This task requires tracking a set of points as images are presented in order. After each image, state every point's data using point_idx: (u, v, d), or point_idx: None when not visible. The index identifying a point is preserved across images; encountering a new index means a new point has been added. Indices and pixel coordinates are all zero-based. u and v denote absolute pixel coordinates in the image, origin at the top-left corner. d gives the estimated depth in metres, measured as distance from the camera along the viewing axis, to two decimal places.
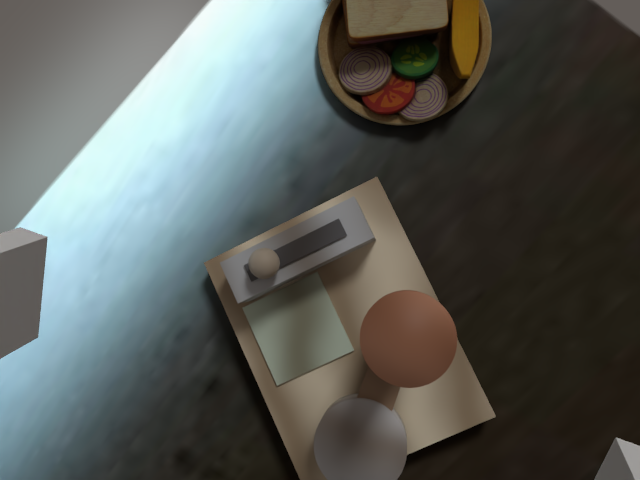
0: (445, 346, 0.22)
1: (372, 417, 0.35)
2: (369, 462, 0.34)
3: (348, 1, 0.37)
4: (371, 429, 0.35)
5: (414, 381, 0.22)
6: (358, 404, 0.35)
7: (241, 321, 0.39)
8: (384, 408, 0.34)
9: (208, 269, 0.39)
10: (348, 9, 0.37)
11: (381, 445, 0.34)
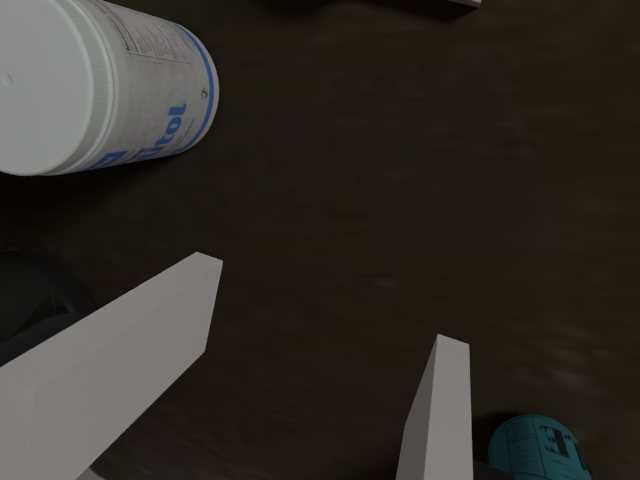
0: None
1: None
2: None
3: None
4: None
5: None
6: None
7: None
8: None
9: None
10: None
11: None
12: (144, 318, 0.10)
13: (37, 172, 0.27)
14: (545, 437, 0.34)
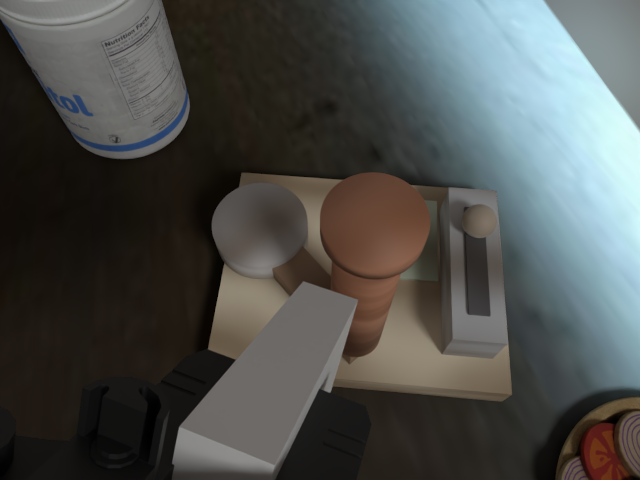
0: (347, 246, 0.19)
1: (278, 246, 0.33)
2: (242, 222, 0.34)
3: None
4: (268, 240, 0.33)
5: (330, 203, 0.20)
6: (297, 241, 0.33)
7: (424, 195, 0.38)
8: (280, 260, 0.32)
9: None
10: None
11: (249, 240, 0.33)
12: (286, 358, 0.10)
13: None
14: None
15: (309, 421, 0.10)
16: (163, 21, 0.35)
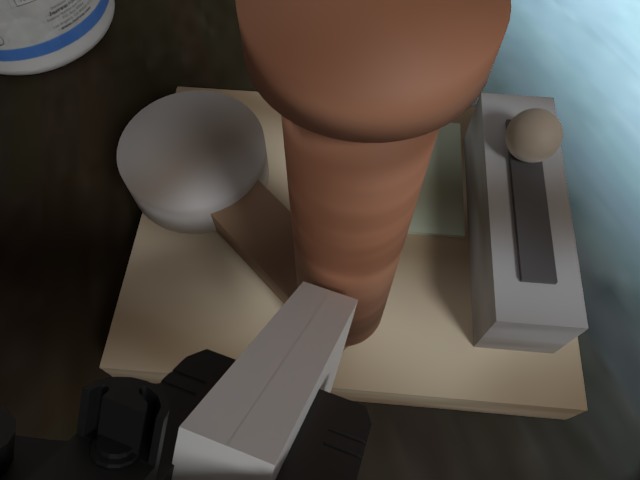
0: (305, 51, 0.07)
1: (219, 179, 0.21)
2: (163, 147, 0.22)
3: None
4: (204, 170, 0.21)
5: None
6: (248, 170, 0.21)
7: None
8: (221, 200, 0.21)
9: None
10: None
11: (174, 172, 0.21)
12: (286, 358, 0.10)
13: None
14: None
15: (309, 421, 0.10)
16: None
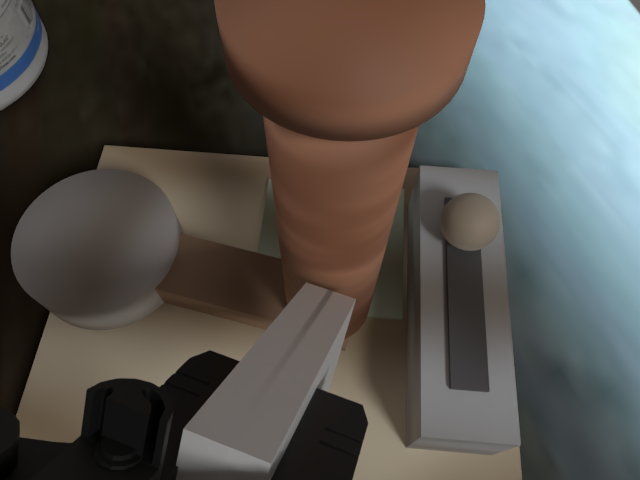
0: (341, 68, 0.07)
1: (145, 252, 0.20)
2: (66, 251, 0.20)
3: None
4: (124, 251, 0.20)
5: (234, 9, 0.08)
6: (168, 229, 0.20)
7: None
8: (161, 270, 0.19)
9: None
10: None
11: (95, 269, 0.19)
12: (290, 359, 0.10)
13: None
14: None
15: (306, 420, 0.10)
16: None
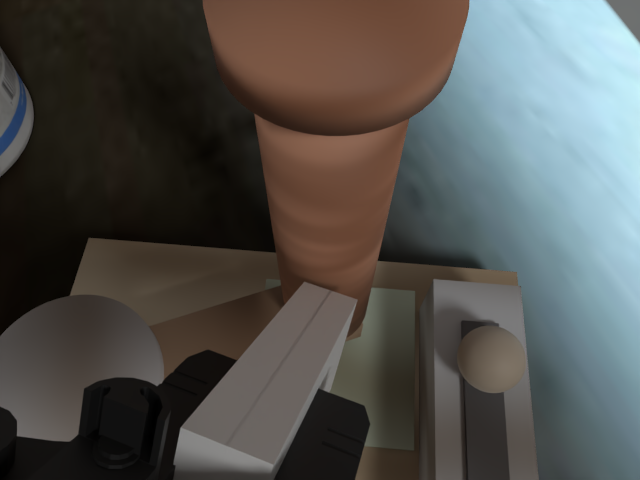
0: (390, 54, 0.07)
1: (131, 362, 0.18)
2: (48, 412, 0.17)
3: None
4: (110, 375, 0.18)
5: (253, 49, 0.08)
6: (138, 328, 0.19)
7: (394, 279, 0.22)
8: (159, 369, 0.18)
9: (502, 273, 0.22)
10: None
11: None
12: (288, 358, 0.10)
13: None
14: None
15: (308, 420, 0.10)
16: None
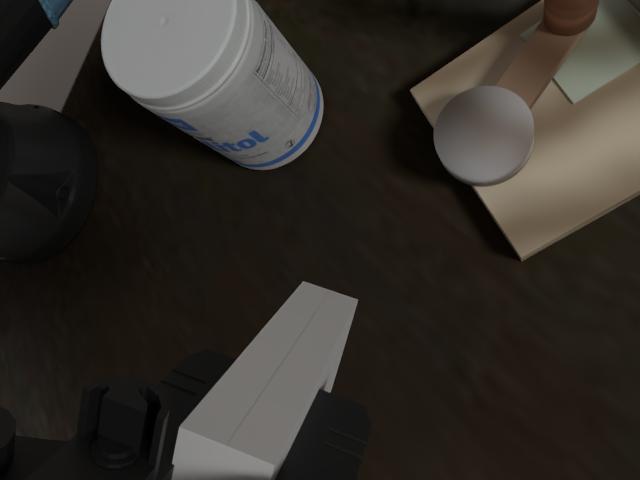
0: None
1: (504, 104, 0.33)
2: (487, 147, 0.33)
3: None
4: (499, 116, 0.33)
5: None
6: (493, 90, 0.34)
7: None
8: (519, 96, 0.33)
9: None
10: None
11: (505, 132, 0.33)
12: (286, 358, 0.10)
13: (124, 89, 0.31)
14: None
15: (309, 421, 0.10)
16: (267, 16, 0.35)
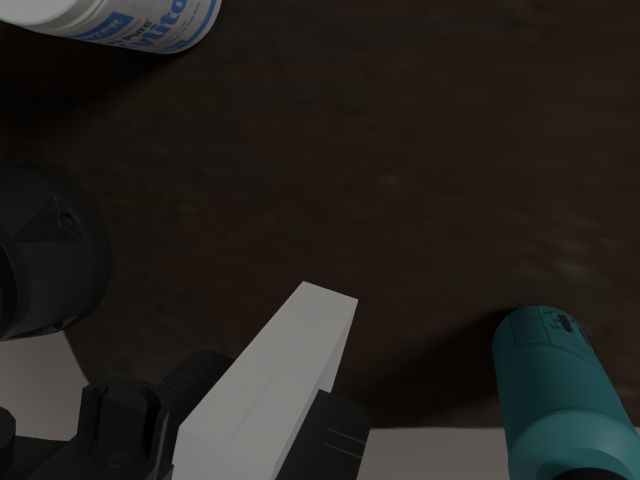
0: None
1: None
2: None
3: None
4: None
5: None
6: None
7: None
8: None
9: None
10: None
11: None
12: (286, 358, 0.10)
13: (44, 19, 0.27)
14: (549, 318, 0.35)
15: (309, 421, 0.10)
16: None
